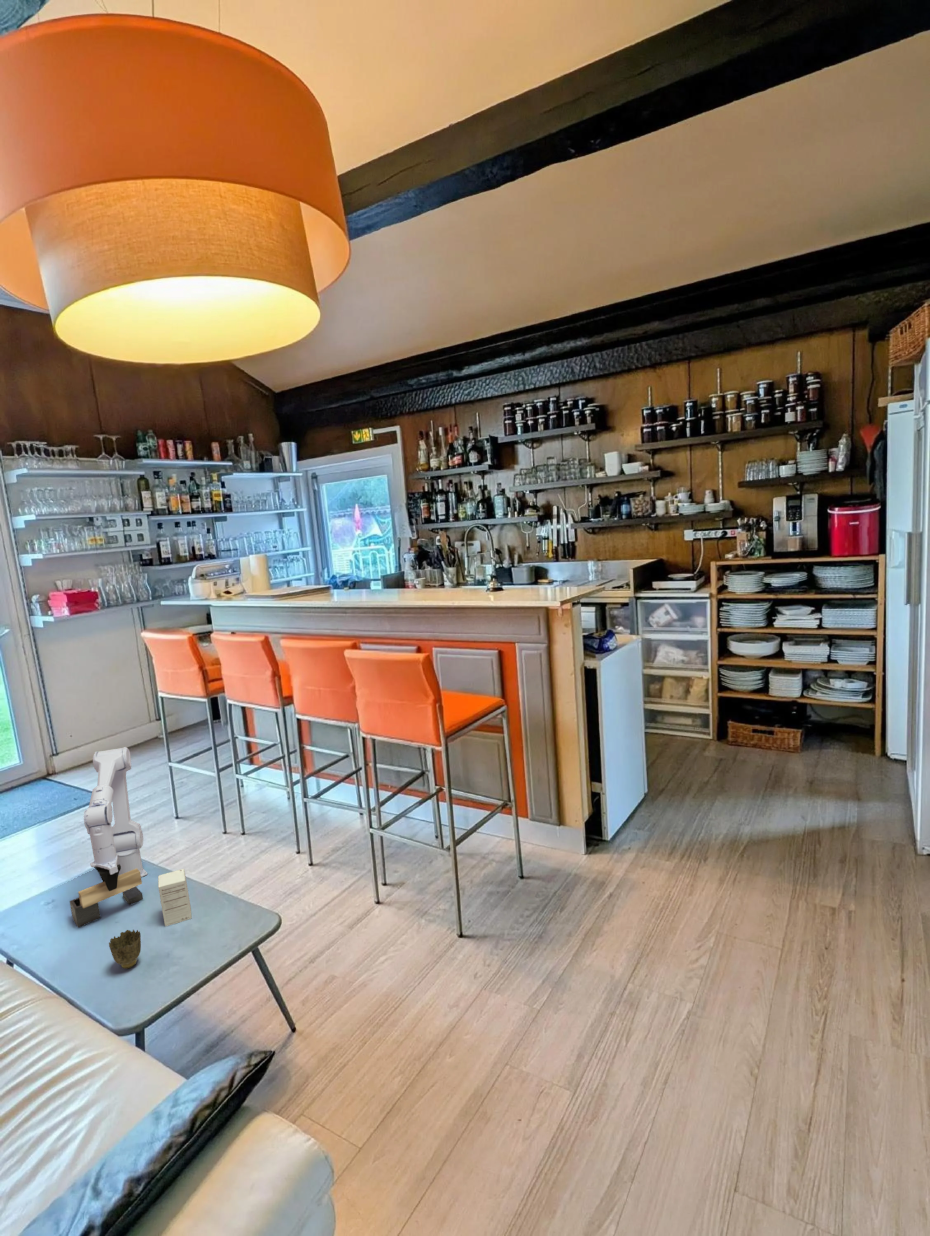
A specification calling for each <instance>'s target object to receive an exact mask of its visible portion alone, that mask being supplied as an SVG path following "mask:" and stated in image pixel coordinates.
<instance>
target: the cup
mask: <svg viewBox="0 0 930 1236" xmlns="http://www.w3.org/2000/svg"><path fill="white" fill-rule="evenodd" d="M141 938H142V937H141V932H140V931H139V930H138V929H137V930H136V931H135V929H132V930H129V929H126V930H125V931H121V932H120V933H119V936H117V937H116V936H115V935H114V936H113V937H111V938H110V941H109V942H108V947H109V950H110V952H111V953H110V954H111V956H112V958H113V960H114V961H115V963H117V964H118V965H120V967H121V968H122V969H124V970H128V969H132V968H133V967H134V966H136V964H137V959H138V957H139V956H140V954H141V952H142V951H141V948H142V942H141V941H142V940H141Z"/></svg>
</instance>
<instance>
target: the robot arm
mask: <svg viewBox="0 0 930 1236" xmlns="http://www.w3.org/2000/svg"><path fill="white" fill-rule="evenodd" d="M131 758H132V757H131V751H130V749H129V748H128V747H127V746H124V747H119V748H113V749H106V750H100V751H99V750H97V751H94V754H93V755H92V764H93V765H92V766H93V768H94V770H95V771H96V773H97V784H96V785H97V786H95V787H94V788H93V789H92V791H91V796H90V800H89V805H88V807H87V809H85V810H84V811H83V824H84V828H86V831H87V834H88V835H89V839H90V842H91V849H92V854H93V859H94V861H92V862H90V863H89V864H90V867H91V868H94V869H95V870H96V871H97V873H98V875H99V876H100V878H101V881H102V882H104V881H105V883H106V886H107V888H108V890H109V891H112V890H114V889H116V888H117V881H118V876H119V875H121V874H124V873H126V872H129V871H131V870H134V869H136V868H137V869H138V870H139V871H140V874H141V878H143V877H146V876H147V875H148V872H147V871H146V870H145V869H144V868H143V867H144V866H143V863H142V856H141V851H140V849H142V847H143V846H144V833H143V830H142V825H141V824H140V823H138V822H137V821H134V820H132V819H131V810H130V801H129V793H128V792H129V791H128V783H127V772H129V771H131V770H132V759H131ZM113 817H114V818H113ZM113 819H114V825H113V826H112V821H113Z"/></svg>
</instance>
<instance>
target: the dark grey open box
mask: <svg viewBox="0 0 930 1236" xmlns="http://www.w3.org/2000/svg"><path fill="white" fill-rule="evenodd" d="M69 906H70V911H71V917H72V920H73V922H74V923H75V925H76V927H77V928H81V927H84V926H85V925H88V924H90V923H92V922H94V921H97V920H99V919H101V910H100V906H99V902H98V903H95V904H93V905H90V906H88V907H86V908H83V907H82V906H81V904H80V899H79V896H78V897H75V898H74V899H71V900H69Z"/></svg>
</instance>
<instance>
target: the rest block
mask: <svg viewBox="0 0 930 1236" xmlns="http://www.w3.org/2000/svg"><path fill="white" fill-rule="evenodd" d="M121 894H122V898H123V899H124V901H125V902H126V903H127V904H128V905H129V906H130V905H134V904H136V903H138V902H141V901H143V900H144V894H143V892H141V890H140V889H139V888H138V886H136V887H133V888H131V889H128V890H126V891H124V892H121Z"/></svg>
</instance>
